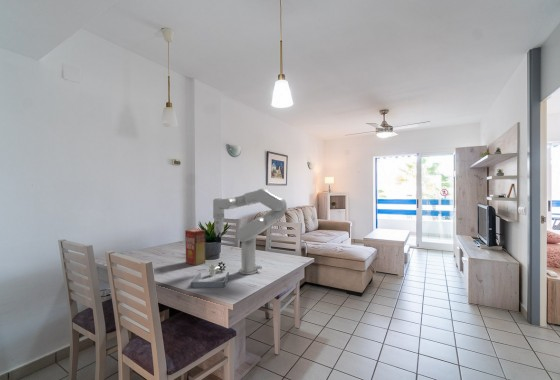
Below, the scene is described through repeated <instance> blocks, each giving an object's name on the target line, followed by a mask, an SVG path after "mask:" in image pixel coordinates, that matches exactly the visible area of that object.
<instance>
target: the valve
mask: <svg viewBox="0 0 560 380" xmlns="http://www.w3.org/2000/svg"><path fill="white" fill-rule="evenodd" d="M226 268H227V266H226V263H225V262H223V261H221V262H218V265H217V266H216V265H215V264H210V265H209V269H208V272H209V274H208V275H209V277H215V276H216V272H217V271H220V272H223V271H226Z"/></svg>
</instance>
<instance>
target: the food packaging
mask: <svg viewBox="0 0 560 380" xmlns="http://www.w3.org/2000/svg"><path fill="white" fill-rule="evenodd" d="M184 234H185V236H184V237H185V263H186V264H188V265H192V266H196V267H197V266H199V265H201V266H202V265H205V264H206V230H203V229H197V228H191V229H186V230H185V231H184Z"/></svg>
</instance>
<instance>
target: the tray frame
mask: <svg viewBox="0 0 560 380" xmlns="http://www.w3.org/2000/svg"><path fill="white" fill-rule="evenodd" d="M201 278H202V273H201V272H198V274H196V276H195V277H194V278H193V279H192V281H191V282H190V287H191V288H195V289H196V288H225V287H226V285H227V283H228V280H229V279H230V272H229V271H228V272H227V273H226V275H225V276H224V278H223V280H222V281H221V280H220V281H219V280H217V281H215V280H214V281H200V279H201Z"/></svg>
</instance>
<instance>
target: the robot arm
mask: <svg viewBox="0 0 560 380" xmlns="http://www.w3.org/2000/svg"><path fill="white" fill-rule="evenodd" d="M212 201H213V202H212V210H213V211H212V216H213V217H212V219H214V221H213V223H214V228H213V229H214V234H215V243H216V244H217V243H219V244H221V243H222V233H224V230H225V229H224V228H225V226H224V219H225V210H232V209H235V208H236V209H237V208H241V207H244V206H251V205H256V204H262V205H264V206H265V207H267V208H269V209H270V210H269V211H268V212H266V213H265V214H263V215H262V216H259V217H257V218H255V219H253V220H250V221H249V222H248V223H247V224H245V225H243V226H242V227H240V228H239V229H237V232H236V237H237V239H238V240H239V241H240V242H241V245H240V246H241V261H240V262H241V265H240V266H241V267H240V269H238V272H239V274H242V275H252V274H257V273H258V271H259V270H263V266H261V265H257V263H256V243H257V241H256V240H257V236H258V235H260V234H261V233H263V232H264V231H266V230H267V229H268V228H269V227H270V226H273V225H274V224H276V223H277V222H278V221H280V220H281V219H282V218H283V217H284V216H285V214H286V212H287V208H288V207H287V205H288V203H287V202H286V200H285V198H284V197H281V196H275V195H274V194H272V193H271V191H270V190H269V189H267V188H259V189H257V190H254V191H249V192H246V193H244V194H242V195H239V196H235V197H228V198H222V197H221V198H214V199H212Z"/></svg>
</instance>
